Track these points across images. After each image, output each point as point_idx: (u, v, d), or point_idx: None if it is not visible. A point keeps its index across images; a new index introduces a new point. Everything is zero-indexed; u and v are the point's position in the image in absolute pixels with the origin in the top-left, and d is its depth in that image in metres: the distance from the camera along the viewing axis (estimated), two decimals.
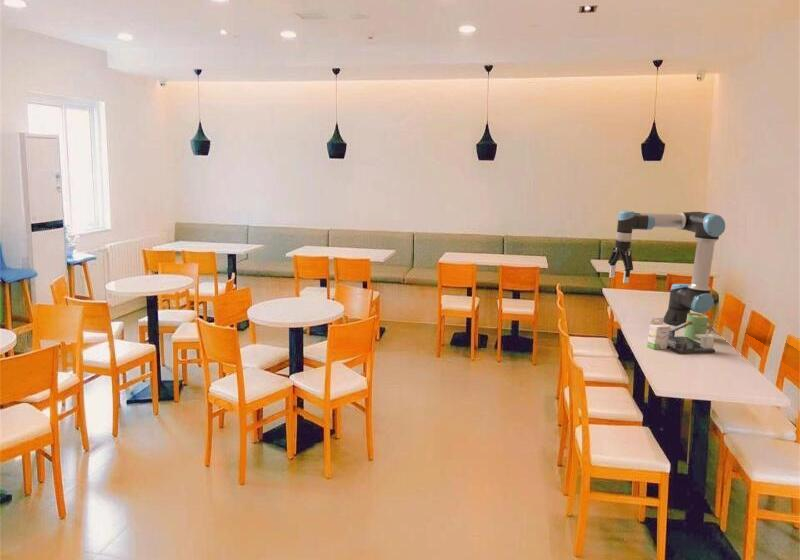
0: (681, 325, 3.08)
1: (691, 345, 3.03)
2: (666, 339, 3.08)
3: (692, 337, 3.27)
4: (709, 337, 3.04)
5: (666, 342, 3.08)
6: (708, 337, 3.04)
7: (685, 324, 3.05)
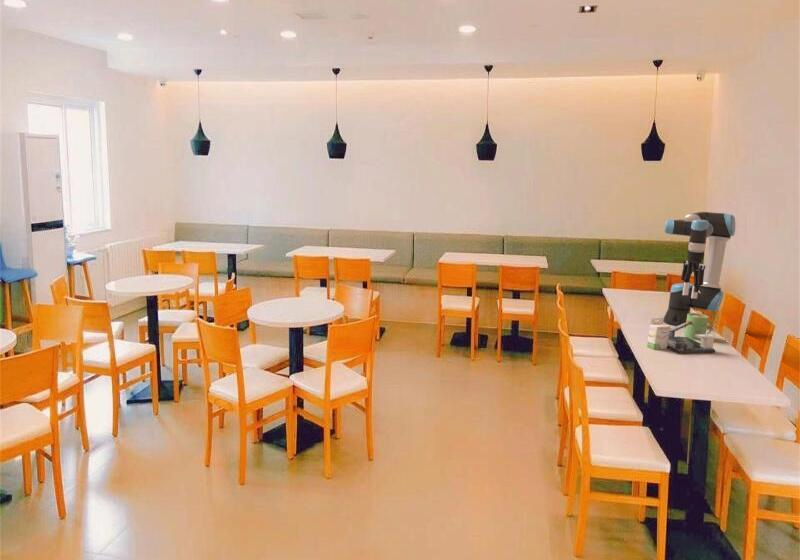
0: (681, 325, 3.08)
1: (691, 345, 3.03)
2: (666, 339, 3.08)
3: (692, 337, 3.27)
4: (709, 337, 3.04)
5: (666, 342, 3.08)
6: (708, 337, 3.04)
7: (685, 324, 3.05)
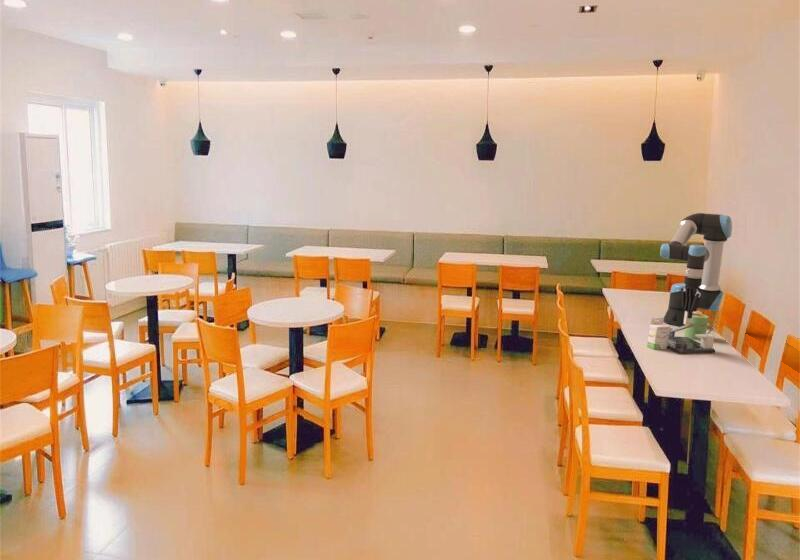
0: (681, 327, 3.07)
1: (691, 345, 3.03)
2: (666, 339, 3.08)
3: (692, 337, 3.27)
4: (709, 337, 3.04)
5: (666, 342, 3.08)
6: (708, 337, 3.04)
7: (685, 327, 3.04)
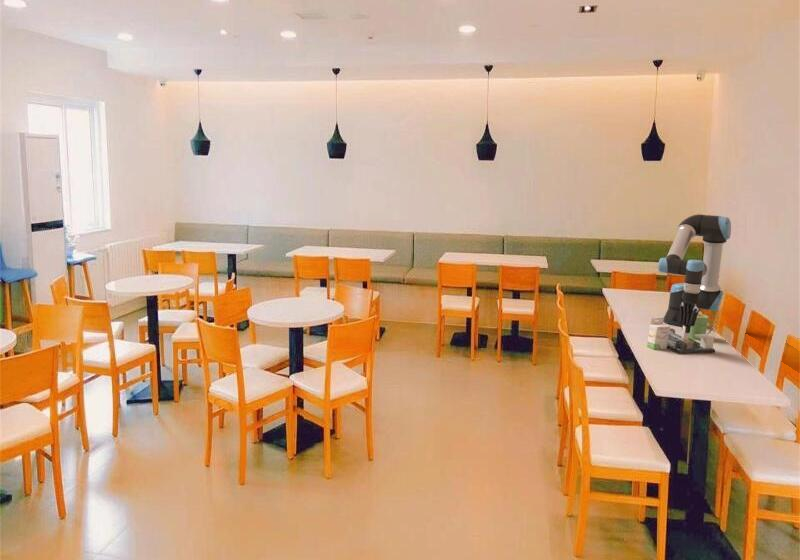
0: (682, 339, 3.07)
1: (691, 345, 3.03)
2: (666, 339, 3.08)
3: (692, 337, 3.27)
4: (709, 337, 3.04)
5: (666, 342, 3.08)
6: (708, 337, 3.04)
7: (685, 342, 3.04)
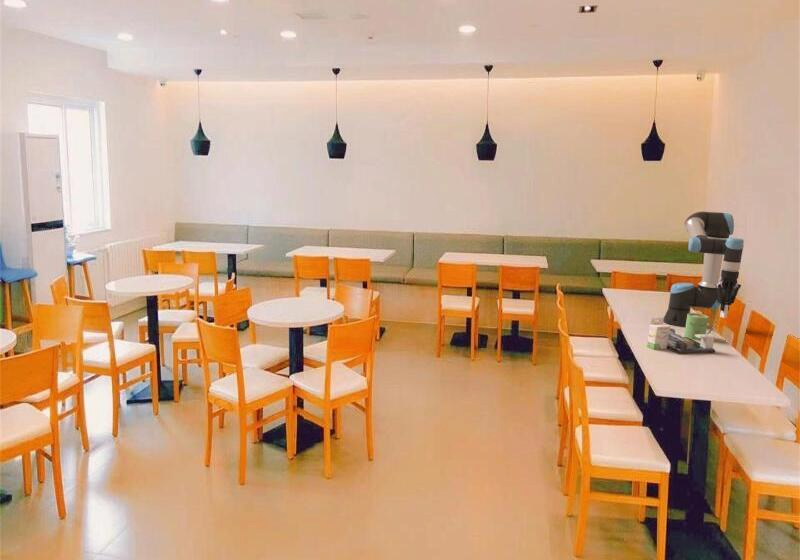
0: (682, 339, 3.07)
1: (691, 345, 3.03)
2: (666, 339, 3.08)
3: (692, 337, 3.27)
4: (709, 337, 3.04)
5: (666, 342, 3.08)
6: (708, 337, 3.04)
7: (685, 342, 3.04)
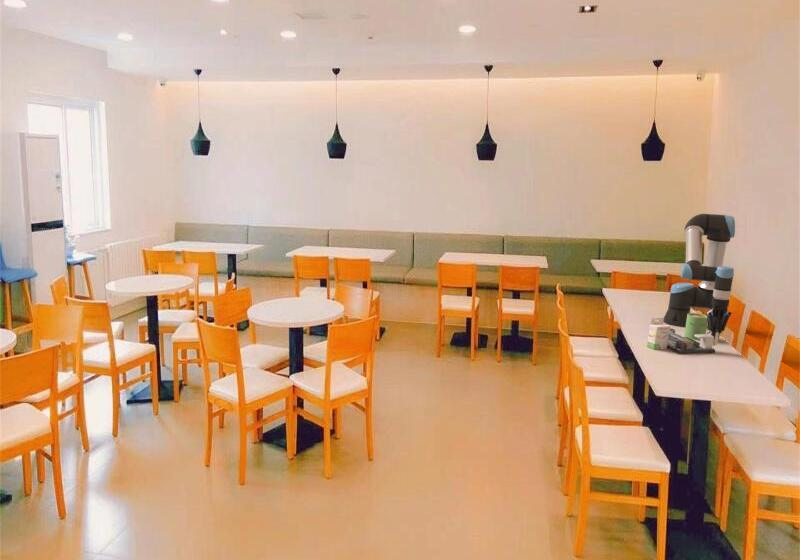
0: (682, 339, 3.07)
1: (691, 345, 3.03)
2: (666, 339, 3.08)
3: (692, 337, 3.27)
4: (708, 337, 3.04)
5: (666, 342, 3.08)
6: (707, 337, 3.04)
7: (685, 342, 3.04)
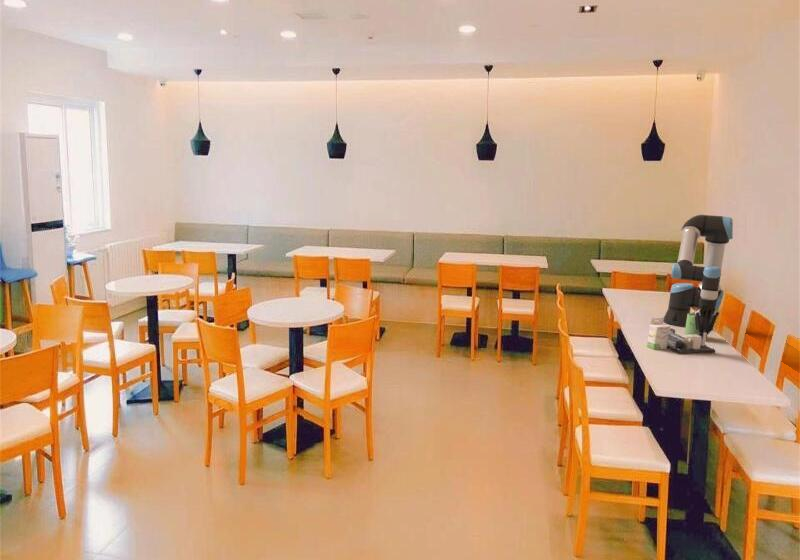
0: (682, 339, 3.07)
1: (691, 345, 3.03)
2: (666, 339, 3.08)
3: None
4: (696, 337, 3.03)
5: (666, 342, 3.08)
6: (695, 337, 3.03)
7: (685, 342, 3.04)
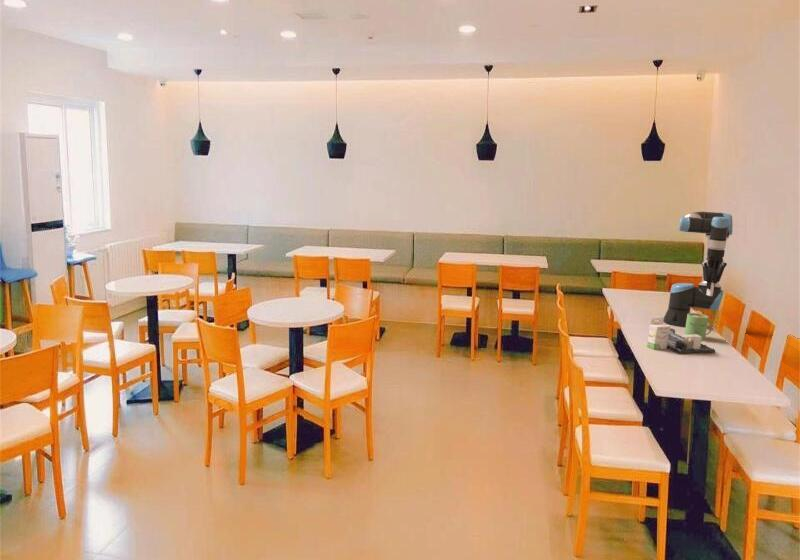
0: (682, 339, 3.07)
1: (691, 345, 3.03)
2: (666, 339, 3.08)
3: None
4: (696, 337, 3.03)
5: (666, 342, 3.08)
6: (695, 337, 3.03)
7: (685, 342, 3.04)
